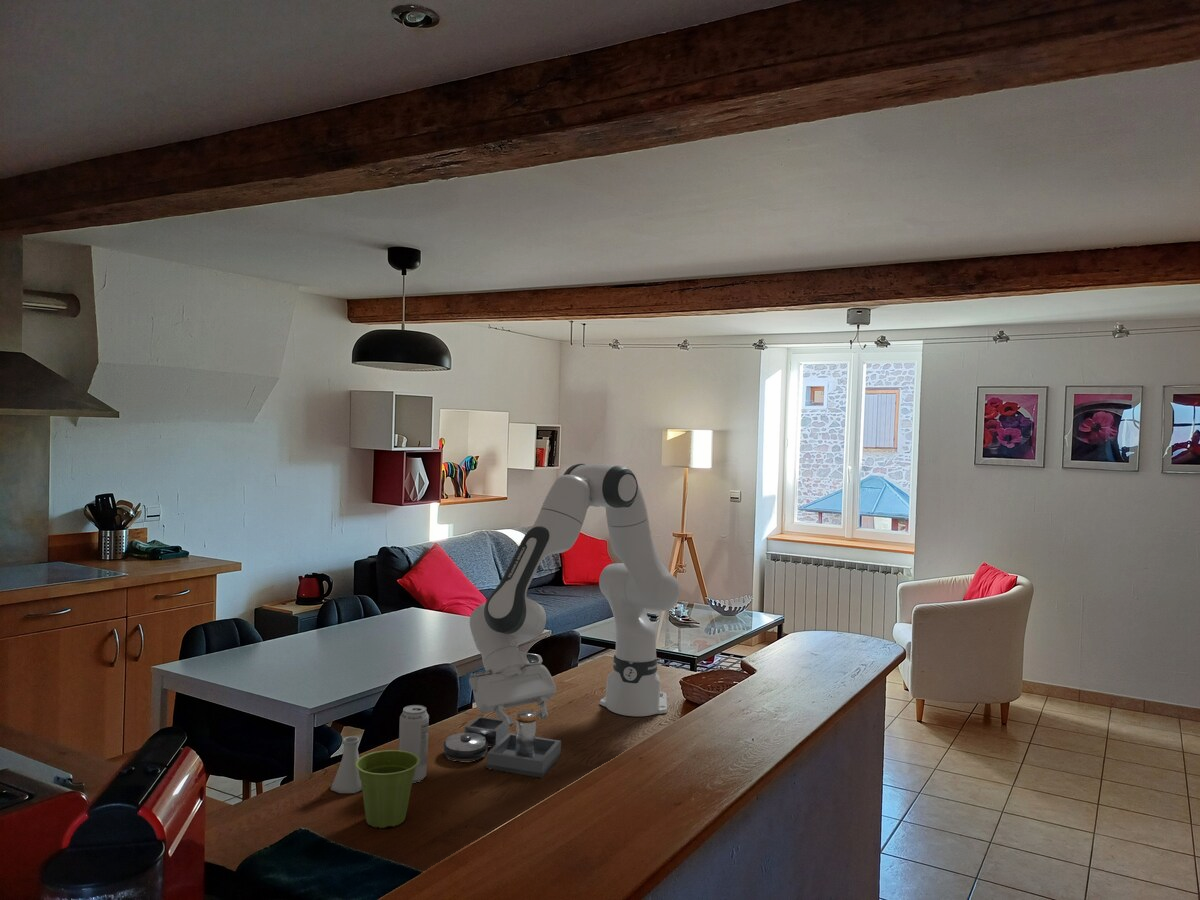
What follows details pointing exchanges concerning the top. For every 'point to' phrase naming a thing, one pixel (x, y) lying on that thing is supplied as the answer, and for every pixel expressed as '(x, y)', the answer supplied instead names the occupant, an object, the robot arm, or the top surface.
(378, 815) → the plant pot
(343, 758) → the flask
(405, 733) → the energy drink can
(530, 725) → the glass shaker
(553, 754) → the tray
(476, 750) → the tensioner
